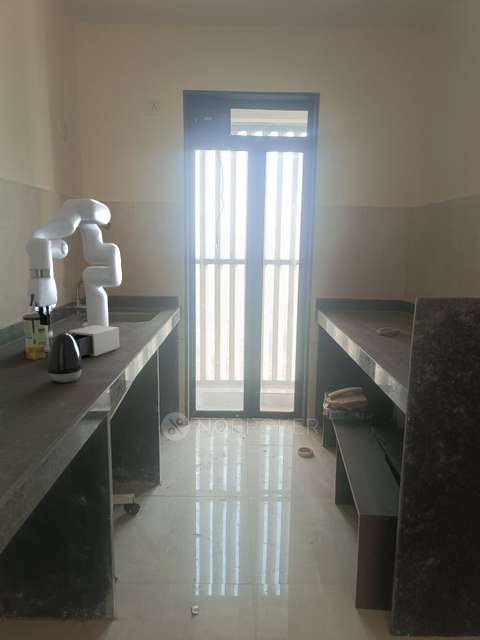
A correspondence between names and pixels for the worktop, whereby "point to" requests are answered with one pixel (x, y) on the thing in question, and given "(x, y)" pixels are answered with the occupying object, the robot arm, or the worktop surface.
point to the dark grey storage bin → (81, 344)
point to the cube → (35, 351)
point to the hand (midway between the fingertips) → (45, 324)
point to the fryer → (100, 338)
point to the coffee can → (37, 331)
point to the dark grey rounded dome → (64, 359)
